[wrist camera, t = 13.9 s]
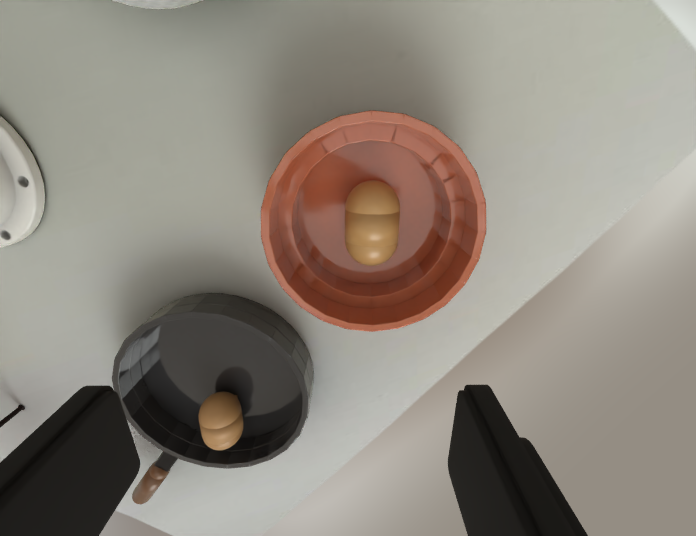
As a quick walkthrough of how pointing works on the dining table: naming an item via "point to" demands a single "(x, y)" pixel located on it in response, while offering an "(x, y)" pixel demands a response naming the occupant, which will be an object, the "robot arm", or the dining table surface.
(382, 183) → the potato
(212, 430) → the potato
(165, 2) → the cereal bowl
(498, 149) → the dining table surface
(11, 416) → the lollipop
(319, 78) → the dining table surface
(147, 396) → the skillet
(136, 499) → the skillet handle
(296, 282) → the bowl
